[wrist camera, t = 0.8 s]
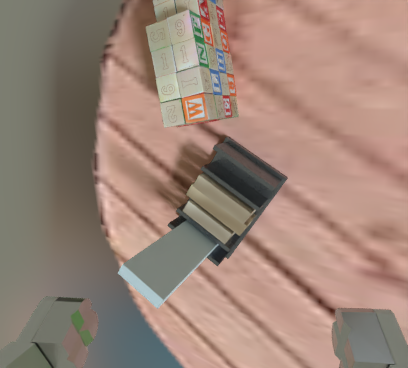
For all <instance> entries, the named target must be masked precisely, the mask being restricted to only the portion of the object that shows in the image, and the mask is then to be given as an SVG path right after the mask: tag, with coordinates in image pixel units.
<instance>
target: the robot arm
mask: <svg viewBox="0 0 408 368" xmlns="http://www.w3.org/2000/svg"><path fill="white" fill-rule="evenodd" d="M91 306H92V303H91V301H90V300H89V298H68V297H48V296H46V297H44V298H43V299H42V300H41V301H40V303H39V305H38V306H37V308H36V309H35V311H34V313H33V314H32V316H31V317H30V319H29V321H28V322H27V324H26V326H25V327H24V329H23V330H22V332H21V334H20V335H19V337H18V339H17V340H16V342H10V343H9V344H8V345H7V346H5V347H4V348H3V349H1V350H0V368H83V365H84V363H85V360H86V358H87V355H88V350H87V346H88V345H89V344H90V343H91V342H92V341H93V340H94V338H95V335H96V333H97V327H98V317H97V314H96V312H94V311H93V310H92V309H90V308H91ZM335 316H336V320H337V321H335V322H334V323H333V325H332V343H333V348H334V353H335V355H336V356H337V357H338V358H339V359H340V360H341V361H340V365H339V368H408V345H407V343H406V340H405V338H404V336H403V334H402V331H401V329H400V327H399V324H398V322H397V320H396V317H395V315H394V313H393V312H392V311H391V310H386V309H365V308H338V309H336V313H335Z"/></svg>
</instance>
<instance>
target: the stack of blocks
mask: <svg viewBox="0 0 408 368" xmlns="http://www.w3.org/2000/svg"><path fill="white" fill-rule="evenodd" d="M153 5H154V11H155V17H156V21H157V22H156V23H154V24H151V25H148V26H146V33H147V38H148V43H149V48H150V52H151V56H152V61H153V66H154V71H155V76H156V84H157V89H158V95H159V100H160V103H161V104H160V107H161V113H162V118H163V124H164V127H165V128H166V127H172V126H176V127H181V126H187V125H193V124H200V123H206V122H212V121H217V120H221V119H227V118H232V117H238V116H239V114H238V107H237V99H236V88H235V81H234V75H233V66H232V60H231V54H230V50H229V45H228V37H227V33H226V26H225V20H224V13H223V10H224V7H223V0H153Z"/></svg>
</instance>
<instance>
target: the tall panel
mask: <svg viewBox="0 0 408 368" xmlns="http://www.w3.org/2000/svg"><path fill="white" fill-rule="evenodd" d="M217 246H218V244H217V243H216V242H215V241H213V240H212V239H211V238H210V237H208V236H207V235H206V234H204V233H203V232H202V231H201V230H199V229H198V228H197V227H196V226H194V225H193V224H192V223H191V222H189V221H188V220H186V221H185V222H183V223H182V224H180V225H179V226H177V227H176V228H174V229H173V230H171V231H170V232H169V233H167V234H166V235H164V236H163V237H161V238H160V239H158V240H157V241H156V242H154V243H153V244H151V245H150V246H148V247H147V248H145V249H144V250H143V251H141V252H140V253H138V254H137V255H135V256H134V257H132V258H131V259H130V260H128V261H127V262H125V263H124V264H123V265H122V267H121V268H120V270H119V272H118V274H119V275H121V276H122V277H123V278H124V279H125V280H126V281H127V282H128V283H129V284H131V285H132V286H133V287H134V288H135V289H136V290H137V291H138V292H140V293H141V294H142V295H143V296H144V297H145V298H146V299H147V300H148V301H150V302H151V303H152V304H153V305H154V306H155V307H156V308H157V309H158V308H159V307H160V306H161V305H162V304H163V303H164V302H165V300H166V299H167V298H168V297H169V296H170V295H171V294H172V293H173V292H174V291H175V290H176V289H177V288H178V287H179V286H180V285H181V284H182V283H183V282H184V280H185V279H186V278H187V277H188V276H189V275H190V274H191V273H192V272H193V271H194V270H195V269H196V268H197V267H198V266H199V265H200V264H201V263H202V262H203V261H204V259H205V258H206V257H207V256H208V255H209V254H210V253H211V252H212V251H213V250H214V249H215V248H216V247H217Z"/></svg>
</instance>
